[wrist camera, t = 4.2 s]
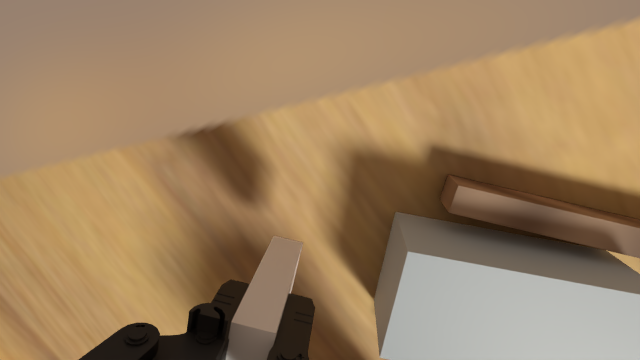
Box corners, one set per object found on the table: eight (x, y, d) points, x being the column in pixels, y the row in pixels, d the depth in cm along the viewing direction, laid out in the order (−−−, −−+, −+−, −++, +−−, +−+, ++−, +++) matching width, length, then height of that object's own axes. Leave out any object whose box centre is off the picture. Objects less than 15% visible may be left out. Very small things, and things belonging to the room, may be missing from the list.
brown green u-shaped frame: (392, 335, 23) (403, 403, 18) (448, 174, 20) (478, 207, 15) (701, 410, 23) (793, 499, 18) (808, 259, 20) (956, 320, 15)
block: (373, 297, 23) (379, 357, 18) (395, 210, 21) (408, 251, 16) (564, 333, 22) (622, 404, 18) (603, 248, 21) (678, 301, 16)
